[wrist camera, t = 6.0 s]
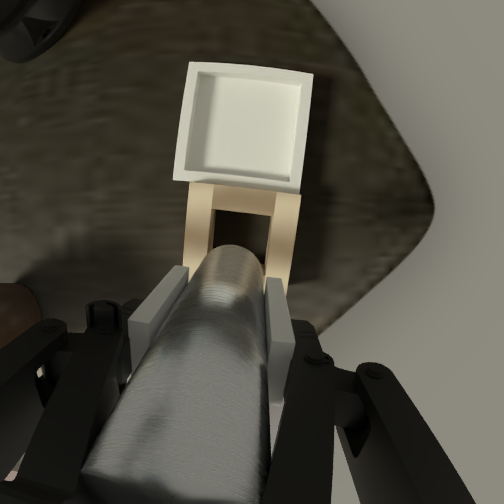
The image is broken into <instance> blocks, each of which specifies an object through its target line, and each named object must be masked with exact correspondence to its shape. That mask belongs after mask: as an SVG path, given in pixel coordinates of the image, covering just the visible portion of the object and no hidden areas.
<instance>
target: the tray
mask: <svg viewBox="0 0 504 504" xmlns="http://www.w3.org/2000/svg"><path fill="white" fill-rule="evenodd" d="M312 83H313V74H309V73H304V72H298V71H291V70H284V69H277V68H269V67H261V66H251V65H240V64H227V63H209V62H189V67H188V73H187V79H186V85H185V91H184V97H183V104H182V110H181V117H180V124H179V132H178V139H177V147H176V156H175V164H174V174H173V180H180V181H192V182H202V183H212V184H222V185H231V186H240V187H248V188H256V189H264V190H272V191H279V192H287V193H294V194H299V192H300V184H301V177H302V169H303V161H304V153H305V145H306V137H307V129H308V120H309V111H310V102H311V93H312Z"/></svg>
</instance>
